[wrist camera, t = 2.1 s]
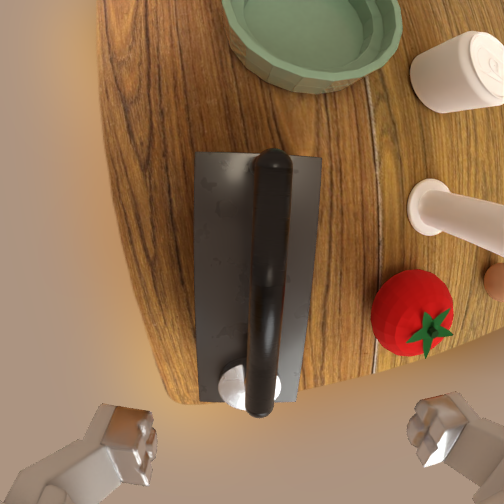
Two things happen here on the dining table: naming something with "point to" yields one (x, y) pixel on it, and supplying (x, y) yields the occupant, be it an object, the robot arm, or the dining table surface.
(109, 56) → the dining table surface
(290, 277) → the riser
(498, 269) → the egg
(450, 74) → the beverage can
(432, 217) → the candle
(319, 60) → the bowl
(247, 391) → the black and silver ladle
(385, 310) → the tomato
